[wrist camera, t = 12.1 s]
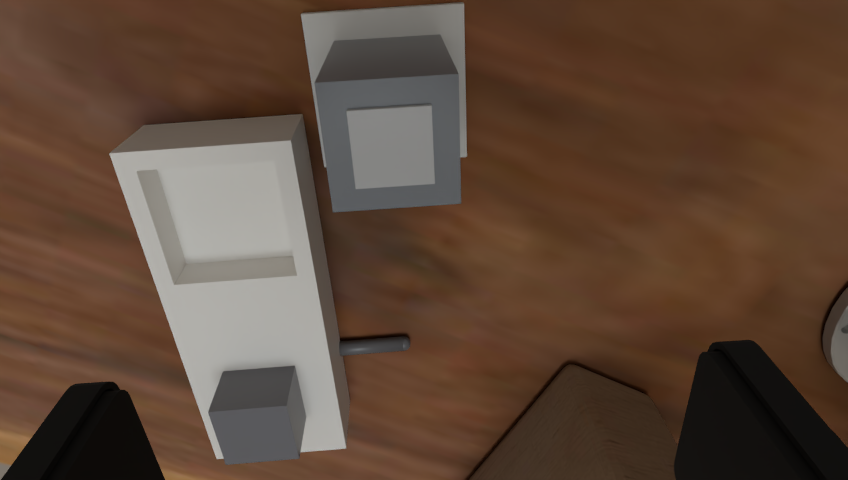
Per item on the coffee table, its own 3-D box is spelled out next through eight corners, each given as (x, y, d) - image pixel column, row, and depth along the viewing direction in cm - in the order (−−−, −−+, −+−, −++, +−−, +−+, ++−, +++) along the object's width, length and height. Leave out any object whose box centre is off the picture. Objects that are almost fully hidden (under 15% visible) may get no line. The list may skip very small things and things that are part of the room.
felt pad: (462, 2, 26) (463, 3, 26) (465, 153, 30) (466, 156, 30) (302, 12, 26) (300, 14, 26) (325, 163, 30) (324, 167, 29)
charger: (440, 34, 26) (459, 75, 19) (443, 136, 29) (461, 205, 22) (334, 40, 26) (313, 84, 19) (346, 142, 29) (332, 214, 22)
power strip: (390, 107, 28) (390, 157, 22) (415, 395, 38) (420, 484, 32) (143, 125, 28) (76, 180, 22) (232, 410, 38) (202, 502, 32)
